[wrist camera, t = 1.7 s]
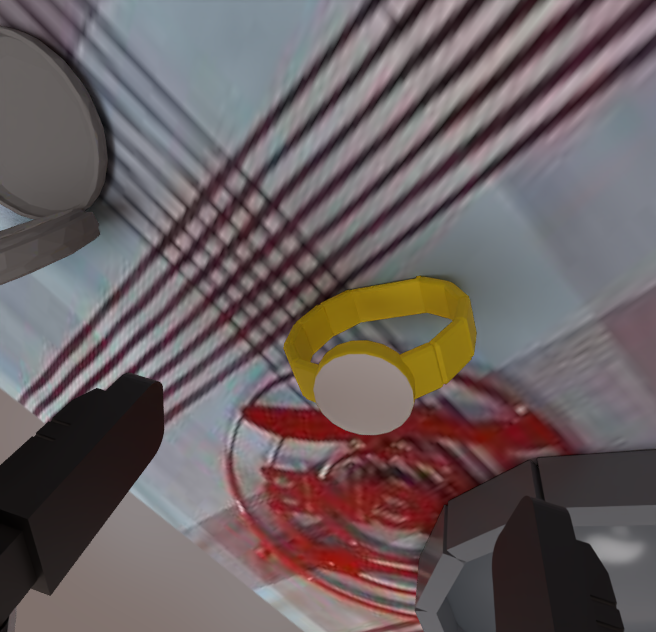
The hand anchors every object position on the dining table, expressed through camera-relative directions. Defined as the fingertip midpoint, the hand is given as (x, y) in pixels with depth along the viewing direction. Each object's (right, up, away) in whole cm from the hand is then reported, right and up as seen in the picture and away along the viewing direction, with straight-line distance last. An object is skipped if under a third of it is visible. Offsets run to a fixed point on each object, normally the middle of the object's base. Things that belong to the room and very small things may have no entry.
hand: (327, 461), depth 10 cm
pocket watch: (-11, +9, +8) cm, 16 cm away
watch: (+2, +4, +7) cm, 9 cm away
